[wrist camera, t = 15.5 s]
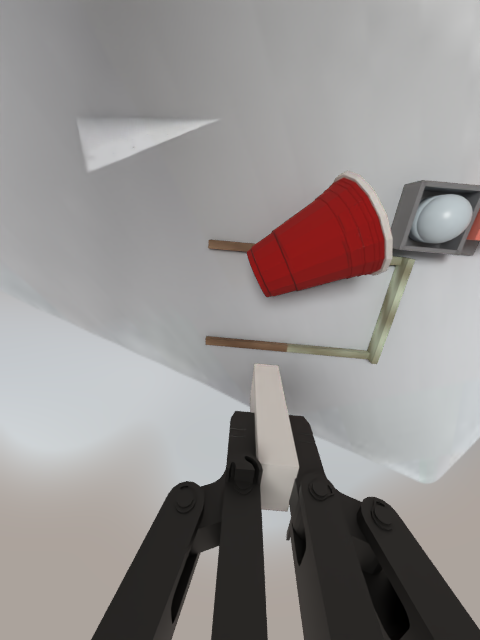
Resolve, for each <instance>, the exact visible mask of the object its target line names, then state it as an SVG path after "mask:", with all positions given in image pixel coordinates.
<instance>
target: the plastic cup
mask: <svg viewBox="0 0 480 640" xmlns="http://www.w3.org/2000/svg"><path fill="white" fill-rule="evenodd" d="M392 248H393V238H392V234H391V230H390V226H389V222H388V218H387V214H386V212H385V210H384V208H383V206H382V204H381V202H380V200H379V198H378V196H377V194H376V192H375V190H374V189H373V188H372V187H371V186H370V185H369V184H368V183H367V182H366V181H365V180H364V179H363V177H362V176H361V175H358V174H356V173H353V172H350V171H346V172H344V173H342V174H341V175H339V176H338V177H337V178H335V180H334V183H333V184H332V185H331V186H330V187H329V188H328V189H327V190H325V191H324V193H323V194H322V195H320V196H319V197H317V198H316V199H315V201H313V202H312V203H311V204H309V205H308V206H307V207H305V208H304V209H302V210H301V211H300V212H298V213H297V214H295V215H294V216H293V217H291V218H290V219H289V220H287V221H286V222H284V223H283V224H282V225H280V226H279V227H278V228H276V229H275V230H273V231H272V233H271V234H269V235H268V236H266V237H265V238H264V239H262V240H261V241H259V242H258V243H256V244H255V245H254V246H252V248H251V249H250V250H248V251H247V256H248V259H249V262H250V265H251V267H252V270H253V272H254V274H255V277H256V279H257V281H258V283H259V285H260V287H261V289H262V291H263V293H264V294H265V296H266V297H270V296H277V295H281V294H285V293H288V292H292V291H299V290H303V289H307V288H311V287H314V286H318V285H322V284H326V283H330V282H333V281H337V280H341V279H345V278H347V279H348V278H351V277H355V276H361V275H367V274H371V275H378V274H380V273H382V272H385V271H387V269H388V267H389V265H390V262H391V260H392Z"/></svg>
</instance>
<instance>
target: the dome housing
mask: <svg viewBox="0 0 480 640" xmlns="http://www.w3.org/2000/svg"><path fill="white" fill-rule="evenodd" d="M445 194H455V195H459V196H462V197H464V198H465V199H467V200H468V201H469V202H470V204H471V206H472V211H473V213H472V219H471V221H470V223H469V225H468V227H467V228H466V229H465V230H464V231H463V232H462V233H461V234H460V235H458V236H457V237H455V238H454V239H452V240H449V241H446V242H443V243H424V242H417V241H414V240H412V239H411V238H410V237H409V233H410V230H411V227H412V224H413V221H414V218H415V215H416V212H417V209H418V206H419V203H420V201H421V200H423V199H425V198H427V197H432V196H438V195H445ZM391 234H392V238H393V248H392V249H398V250H408V251H419V252H430V253H441V254H452V255H460V254H463V255H473V254H474V252H475V250H476V248H477V246H478V243H479V241H480V185H469V184H458V183H447V182H436V181H425V180H421V181H417V182H413V183H410V184H406V185H404V188H403V192H402V195H401V198H400V201H399V205H398V208H397V211H396V214H395V217H394V221H393V224H392V227H391Z"/></svg>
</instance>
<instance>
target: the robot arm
mask: <svg viewBox="0 0 480 640" xmlns="http://www.w3.org/2000/svg"><path fill="white" fill-rule="evenodd" d="M289 505H290V512H291V520H290V524H289V527H288V530H287V539H286V540H290V536H291V543H292V551H293V559H294V566H295V574H296V581H297V589H298V597H299V604H300V612H301V619H302V627H303V634H304V640H480V630H479V628H478V627H477V625H476V624H475V622H474V621H473V620H472V618H471V617H470V615H469V614H468V613H467V612H466V610H465V609H464V607H463V606H462V604H461V603H460V601H459V600H458V599H457V597H456V596H455V594H454V593H453V591H452V590H451V589H450V587H449V586H448V584H447V583H446V582H445V580H444V579H443V577H442V576H441V574H440V573H439V572H438V570H437V569H436V567H435V566H434V565H433V563H432V562H431V560H430V559H429V558H428V556H427V555H426V553H425V552H424V550H422V548H421V546H420V545H419V543H418V542H417V541H416V539H415V538H414V536H413V535H412V533H411V532H410V531H409V529H408V528H407V526H406V525H405V524H404V522H403V521H402V519H401V518H400V517H399V515H398V514H397V513H396V512H395V510H394V509H393V508H392V507H391V506H390V505H389V504H387V503H386V502H385V501H383V500H381V499H378V498H376V497H367V498H365V499H364V500H363V502H360V501H358V500H356V499H353V498H351V497H349V496H346V495H344V494H342V493H340V492H339V491H338V490H337V489H335V488H334V486H333V485H332V483H331V482H330V481H329V480H328V479H327V478H326V475H325V473H324V470H323V466H322V463H321V460H320V456H319V453H318V450H317V446H316V444H315V440H314V437H313V433H312V430H311V427H310V424H309V423H308V422H307V420H306V419H305V418H304V416H293V415H288V410H287V406H286V401H285V396H284V391H283V386H282V382H281V377H280V372H279V367H278V366H277V365H265V364H254V371H253V379H252V387H251V395H250V412H241V411H235V413H234V414H233V416H232V417H231V421H230V433H229V444H228V455H227V465H226V470H225V472H224V474H223V475H222V477H221V478H220V479H219V480H217V481H216V482H214V483H211V484H208V485H205V486H201V487H200V486H199V485H197V484H196V483H194V482H188V481H186V482H182V483H179V484H178V485H176V486H175V487H174V488H173V489H172V490H171V491H170V493H169V494H168V496H167V497H166V499H165V501H164V503H163V505H162V507H161V509H160V511H159V513H158V514H157V517H156V518H155V520H154V522H153V524H152V526H151V528H150V530H149V532H148V533H147V535H146V537H145V539H144V541H143V543H142V545H141V547H140V549H139V550H138V552H137V554H136V556H135V558H134V560H133V562H132V564H131V566H130V567H129V569H128V571H127V573H126V575H125V577H124V579H123V581H122V583H121V584H120V587H119V588H118V590H117V592H116V594H115V596H114V598H113V600H112V601H111V603H110V605H109V607H108V609H107V611H106V613H105V615H104V617H103V618H102V620H101V622H100V624H99V626H98V628H97V630H96V632H95V634H94V635H93V637H92V639H91V640H171V639H172V636H173V633H174V630H175V627H176V624H177V621H178V618H179V615H180V612H181V609H182V606H183V603H184V600H185V597H186V594H187V591H188V588H189V585H190V582H191V579H192V576H193V573H194V570H195V567H196V564H197V561H198V558H199V555H200V552H203V551H206V550H209V549H211V548H214V547H216V546H219V557H218V568H217V579H216V592H215V603H214V614H213V625H212V636H211V640H268V638H267V617H266V596H265V575H264V555H263V533H262V513H261V509H264V510H276V511H288V507H289Z"/></svg>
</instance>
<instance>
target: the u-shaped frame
mask: <svg viewBox="0 0 480 640" xmlns="http://www.w3.org/2000/svg"><path fill="white" fill-rule="evenodd" d="M254 245H255V244H252V243H241V242H230V241H219V240H209V246H208V248H211V249H222V250H233V251H244V252H247V251H248V250H250V249H251V248H252V246H254ZM414 262H415V259H410V258H406V257H395V256H392V260H391V262H390V265H396V267H395V270H394V273H393V276H392V279H391V282H390V285H389V288H388V291H387V294H386V296H385V299H384V302H383V305H382V308H381V311H380V314H379V317H378V320H377V323H376V326H375V329H374V332H373V335H372V338H371V341H370V344H369V347H368V350H367V351H364V350H353V349H342V348H331V347H320V346H309V345H298V344H287V343H276V342H265V341H254V340H243V339H232V338H221V337H210V336H206V345H217V346H228V347H239V348H250V349H261V350H272V351H283V352H294V353H305V354H316V355H327V356H338V357H349V358H360V359H368V360H369V361H370V362H371V363H372V364H377V363H378V360H379V358H380V355H381V352H382V349H383V347H384V344H385V341H386V338H387V336H388V333H389V330H390V327H391V325H392V322H393V319H394V316H395V314H396V311H397V308H398V305H399V303H400V300H401V297H402V294H403V292H404V289H405V286H406V284H407V281H408V278H409V275H410V273H411V270H412V267H413V264H414Z"/></svg>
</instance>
